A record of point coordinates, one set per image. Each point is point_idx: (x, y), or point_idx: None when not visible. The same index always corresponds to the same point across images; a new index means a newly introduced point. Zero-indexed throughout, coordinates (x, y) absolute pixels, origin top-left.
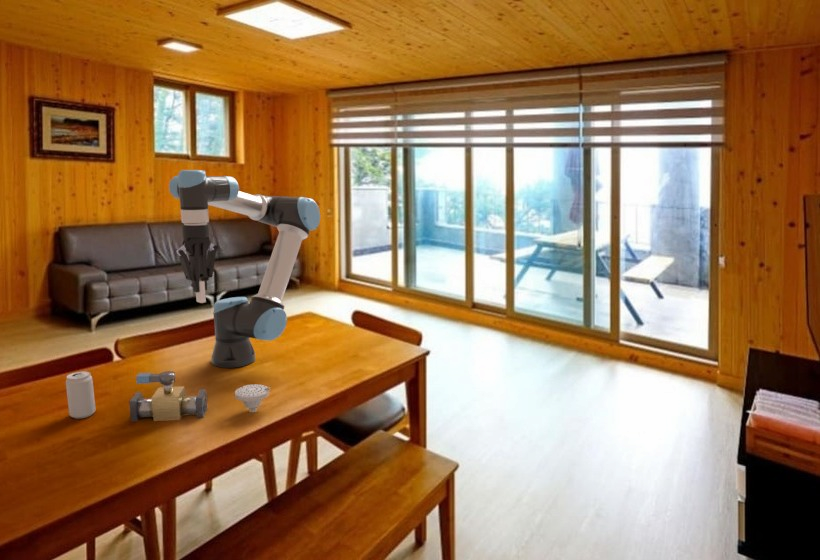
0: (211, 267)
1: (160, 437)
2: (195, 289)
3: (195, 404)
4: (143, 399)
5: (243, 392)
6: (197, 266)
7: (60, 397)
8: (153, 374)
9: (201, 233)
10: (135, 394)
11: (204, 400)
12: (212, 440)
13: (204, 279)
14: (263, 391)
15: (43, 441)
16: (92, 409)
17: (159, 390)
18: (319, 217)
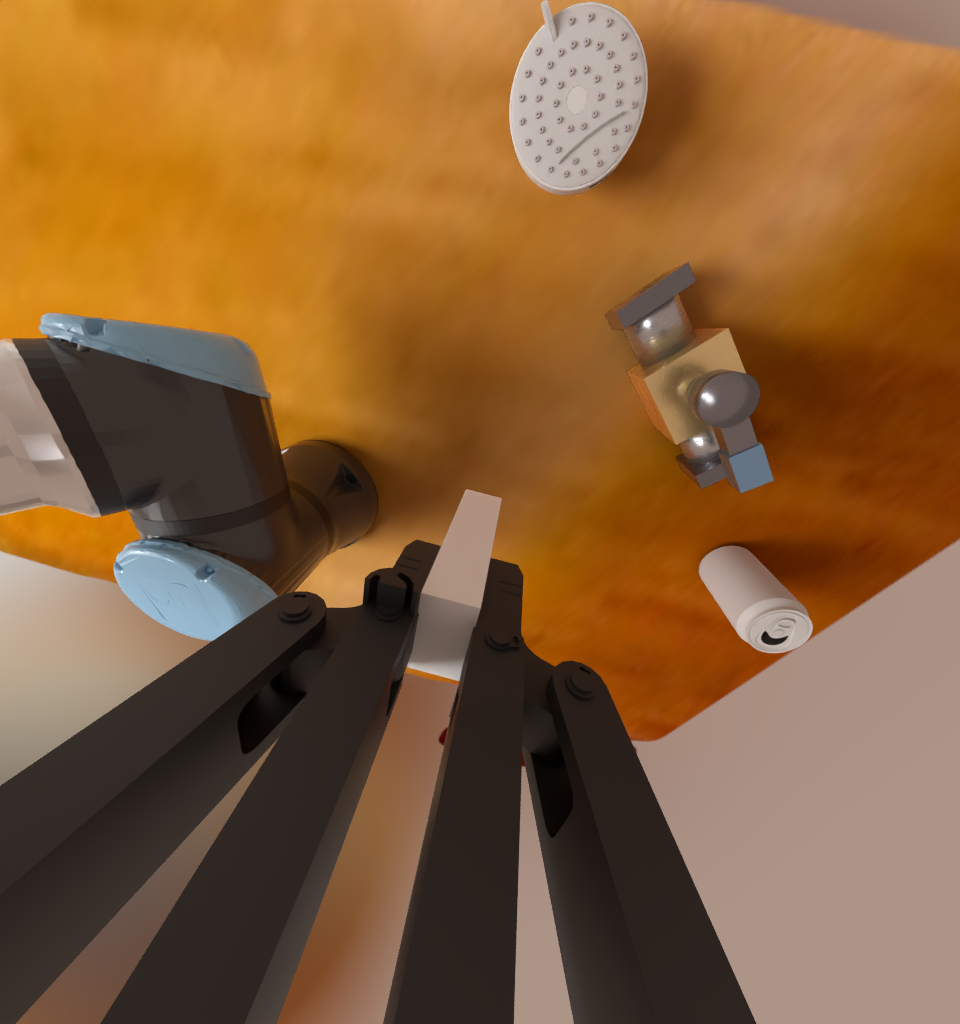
0: (180, 710)
1: (818, 285)
2: (522, 586)
3: (677, 295)
4: (717, 449)
5: (615, 112)
6: (457, 872)
7: (656, 656)
8: (736, 446)
9: None
10: (715, 480)
11: (643, 290)
12: (819, 82)
13: (415, 604)
14: (573, 23)
15: (872, 533)
16: (730, 550)
17: (697, 424)
18: None
